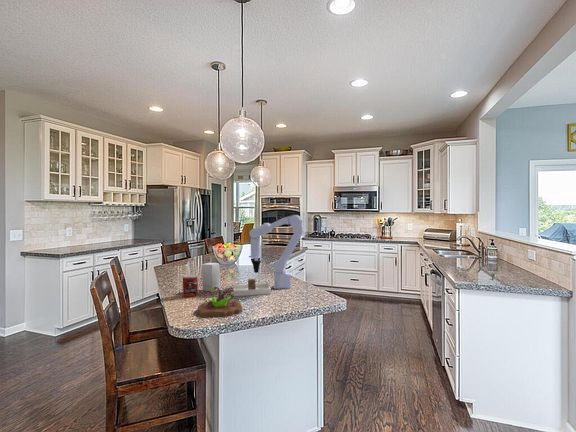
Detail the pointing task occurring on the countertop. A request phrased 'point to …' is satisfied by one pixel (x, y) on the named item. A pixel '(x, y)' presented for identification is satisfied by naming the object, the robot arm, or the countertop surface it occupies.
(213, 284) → the skincare box
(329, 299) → the countertop surface
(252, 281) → the walnut block
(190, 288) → the canned food
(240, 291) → the tray
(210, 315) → the plant
